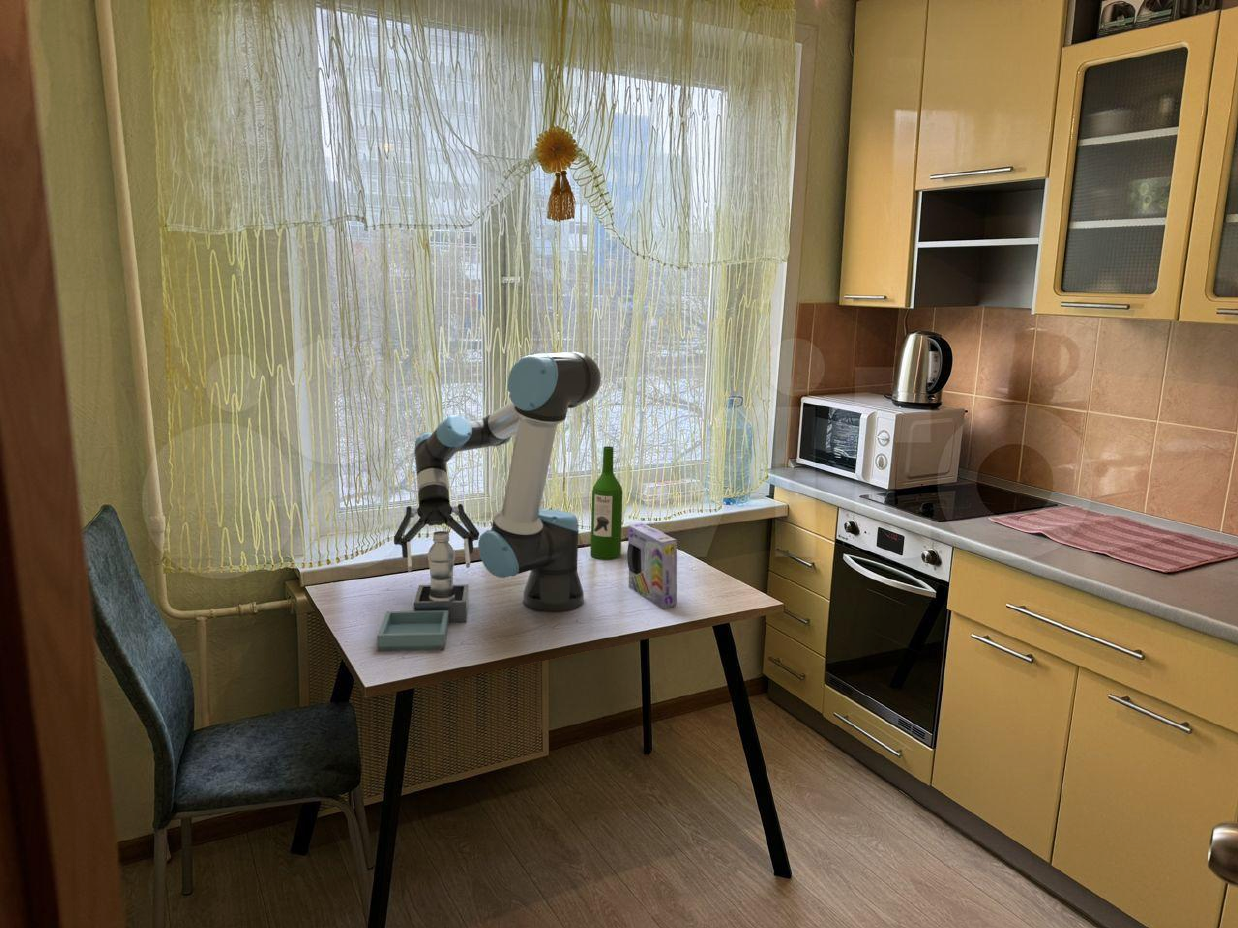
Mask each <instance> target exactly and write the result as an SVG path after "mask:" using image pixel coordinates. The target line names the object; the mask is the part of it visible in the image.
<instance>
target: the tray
mask: <svg viewBox="0 0 1238 928" xmlns="http://www.w3.org/2000/svg"><path fill="white" fill-rule="evenodd" d="M449 626H450V623H449V610H434V611H414V610H395V611H394V610H391V611H390V610H386V612H385V614H384V617H383V620H382V622H381V625H380V628H379V630H378V634H377V651H378V652H393V651H395V652H398V651H399V650H405V651H434V650H435V651H437V650H436V649H444V650H445V647H446V643H447V642H446V641H447V636H448V630H449Z"/></svg>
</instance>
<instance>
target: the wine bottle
mask: <svg viewBox="0 0 1238 928" xmlns="http://www.w3.org/2000/svg"><path fill="white" fill-rule="evenodd" d="M622 487H623V486H621V484H620V482H619V480H618V479H617V477H616V476H615V473H614V447H613V446H611V445H610V446H603V449H602V470H601V474H600V475H599V477H598V478H597V480H596V481H595V483H594V485H593V487H592V490H591V514H590V515H591V516H590V517H591V518H590V556H591V558H593V559H596V560H600V561H601V560H602V561H612V560H617V559H619V558H620V557H621V554H622V549H621V548H622V524H623V523H622V518H623V517H622V516H623V488H622Z"/></svg>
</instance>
